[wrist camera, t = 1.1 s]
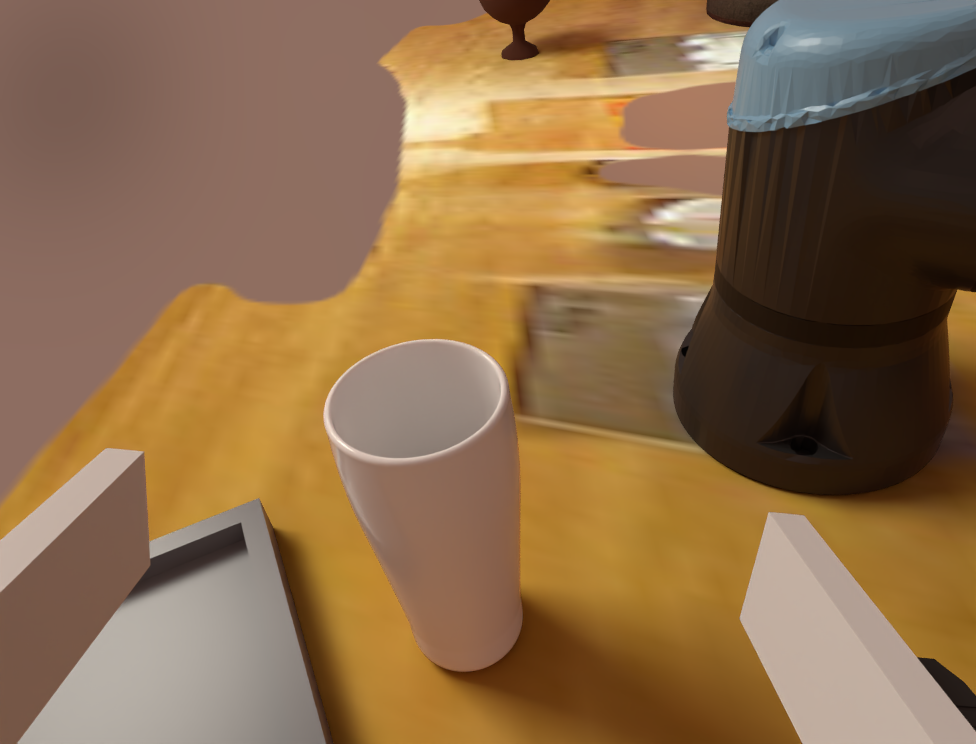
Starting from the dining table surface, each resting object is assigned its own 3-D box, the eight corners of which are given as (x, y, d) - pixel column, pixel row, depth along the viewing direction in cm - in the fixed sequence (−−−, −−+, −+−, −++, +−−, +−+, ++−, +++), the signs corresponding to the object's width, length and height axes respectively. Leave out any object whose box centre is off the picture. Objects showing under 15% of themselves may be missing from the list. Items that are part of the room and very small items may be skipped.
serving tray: (272, 526, 41) (259, 498, 39) (343, 779, 30) (328, 753, 28) (-56, 660, 36) (-86, 634, 35) (-113, 1014, 26) (-161, 999, 24)
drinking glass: (385, 687, 33) (292, 463, 23) (415, 562, 38) (350, 336, 28) (533, 699, 32) (499, 468, 22) (544, 568, 37) (520, 334, 27)
